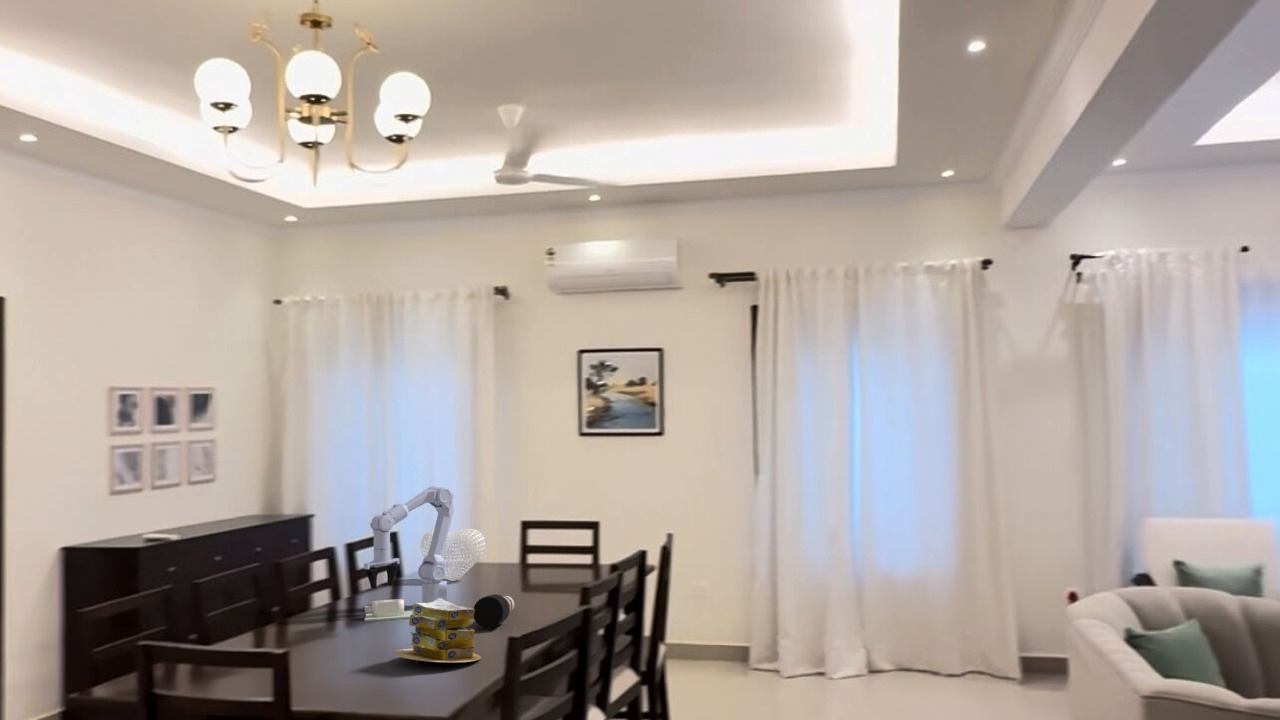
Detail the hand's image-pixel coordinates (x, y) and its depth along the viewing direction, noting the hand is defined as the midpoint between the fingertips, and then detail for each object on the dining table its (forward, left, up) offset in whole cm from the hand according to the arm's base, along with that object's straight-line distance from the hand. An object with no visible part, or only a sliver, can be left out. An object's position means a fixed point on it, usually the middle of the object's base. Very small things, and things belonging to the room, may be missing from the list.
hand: (382, 586), depth 348 cm
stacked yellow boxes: (-19, +74, -10) cm, 77 cm away
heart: (-27, -64, -10) cm, 70 cm away
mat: (-2, +5, -10) cm, 11 cm away
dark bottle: (-40, +21, -10) cm, 47 cm away
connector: (-1, +5, -9) cm, 11 cm away
